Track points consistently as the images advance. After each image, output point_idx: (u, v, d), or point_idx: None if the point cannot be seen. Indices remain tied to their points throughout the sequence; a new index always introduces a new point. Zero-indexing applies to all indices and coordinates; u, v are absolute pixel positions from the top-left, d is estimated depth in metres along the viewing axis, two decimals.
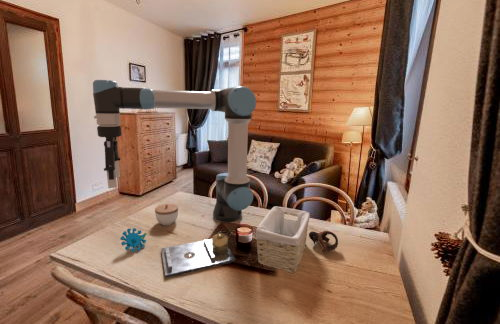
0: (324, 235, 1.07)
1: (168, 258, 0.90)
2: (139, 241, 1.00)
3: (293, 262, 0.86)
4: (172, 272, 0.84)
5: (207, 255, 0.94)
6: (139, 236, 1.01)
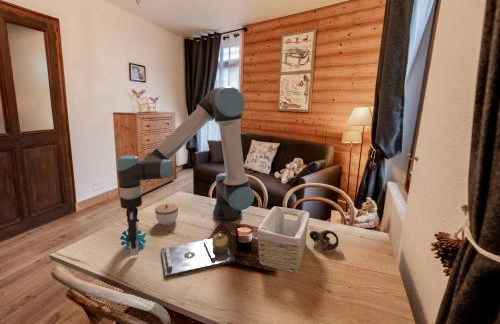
0: (325, 234, 1.07)
1: (168, 258, 0.90)
2: (139, 241, 1.00)
3: (295, 262, 0.86)
4: (172, 272, 0.84)
5: (207, 255, 0.94)
6: (139, 236, 1.01)
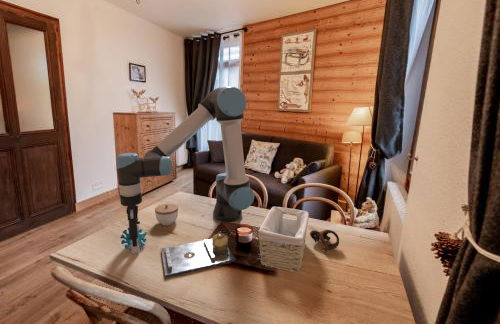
0: (325, 234, 1.08)
1: (168, 258, 0.90)
2: (139, 240, 1.00)
3: (297, 262, 0.86)
4: (172, 272, 0.84)
5: (207, 255, 0.94)
6: (139, 235, 1.01)
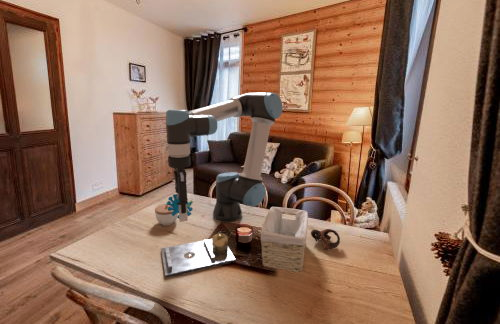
0: (326, 233, 1.09)
1: (168, 258, 0.90)
2: None
3: (299, 262, 0.86)
4: (172, 272, 0.84)
5: (207, 255, 0.94)
6: None
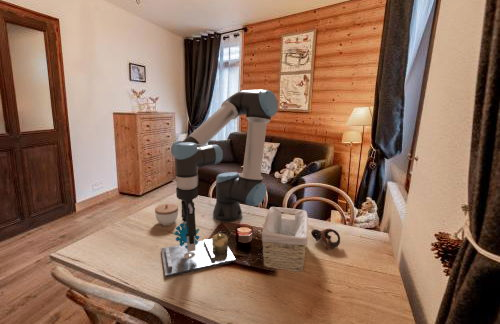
0: (326, 233, 1.09)
1: (168, 258, 0.90)
2: None
3: (301, 262, 0.87)
4: (172, 272, 0.84)
5: (207, 255, 0.94)
6: None
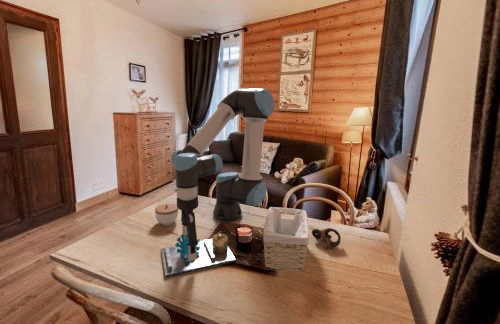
0: (326, 232, 1.09)
1: (168, 258, 0.90)
2: None
3: (302, 261, 0.87)
4: (172, 272, 0.84)
5: (207, 255, 0.94)
6: None
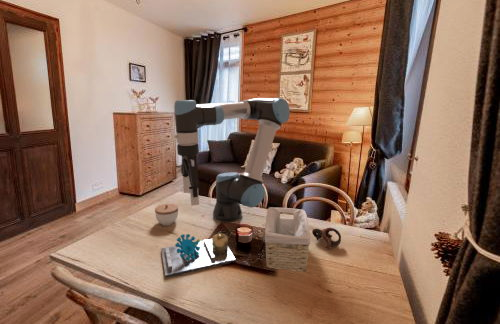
0: (327, 232, 1.10)
1: (168, 258, 0.90)
2: (193, 248, 0.94)
3: (304, 261, 0.87)
4: (172, 272, 0.84)
5: (207, 255, 0.94)
6: (193, 243, 0.95)
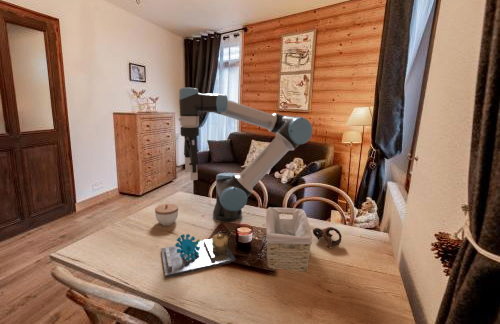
0: (327, 231, 1.10)
1: (168, 258, 0.90)
2: (193, 248, 0.94)
3: (306, 261, 0.87)
4: (172, 272, 0.84)
5: (207, 255, 0.94)
6: (193, 243, 0.95)
